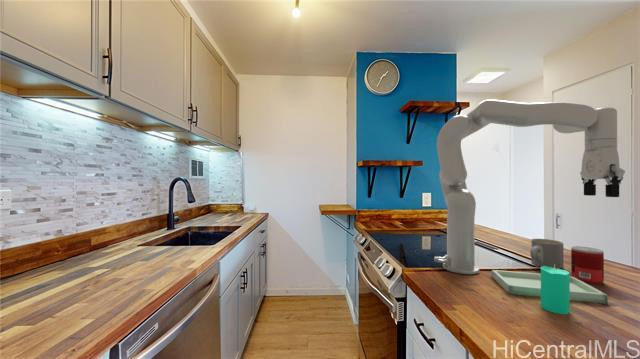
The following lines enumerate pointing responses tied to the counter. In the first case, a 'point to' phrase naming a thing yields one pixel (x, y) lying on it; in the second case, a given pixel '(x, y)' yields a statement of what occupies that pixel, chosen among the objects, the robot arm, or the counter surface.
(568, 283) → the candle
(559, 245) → the coffee mug
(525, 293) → the tray
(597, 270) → the canned food
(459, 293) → the counter surface
